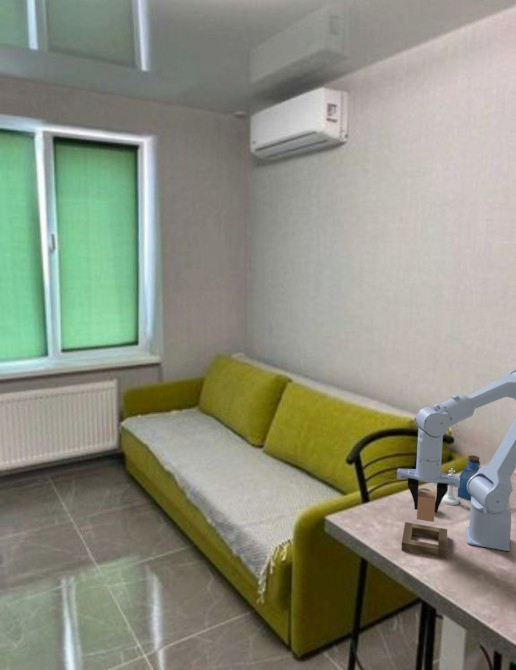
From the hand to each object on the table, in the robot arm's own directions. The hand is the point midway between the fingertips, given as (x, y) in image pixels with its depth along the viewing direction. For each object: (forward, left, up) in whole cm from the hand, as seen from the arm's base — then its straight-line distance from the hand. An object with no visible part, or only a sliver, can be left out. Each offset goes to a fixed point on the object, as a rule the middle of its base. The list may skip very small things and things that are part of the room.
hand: (426, 509), depth 128 cm
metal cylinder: (+1, -19, -9) cm, 21 cm away
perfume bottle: (-12, -32, -9) cm, 35 cm away
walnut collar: (0, 0, -9) cm, 9 cm away
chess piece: (-6, -26, -9) cm, 28 cm away
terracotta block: (0, 0, -2) cm, 2 cm away
